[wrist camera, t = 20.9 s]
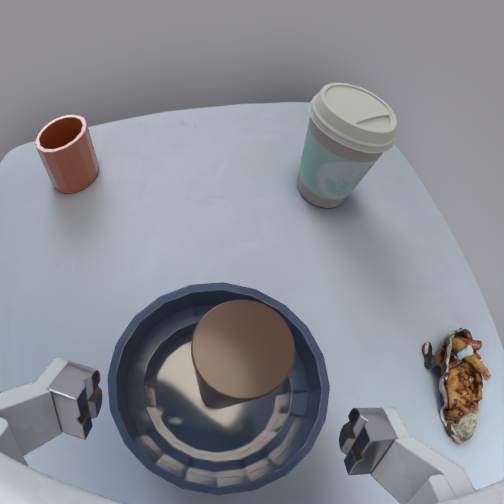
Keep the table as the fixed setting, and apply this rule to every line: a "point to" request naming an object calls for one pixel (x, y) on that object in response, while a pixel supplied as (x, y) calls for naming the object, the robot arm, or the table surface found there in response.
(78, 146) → the crock
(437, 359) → the loaded food tray
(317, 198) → the coffee cup
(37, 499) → the robot arm
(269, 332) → the brown wooden rod
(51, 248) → the table surface
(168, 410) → the bowl
